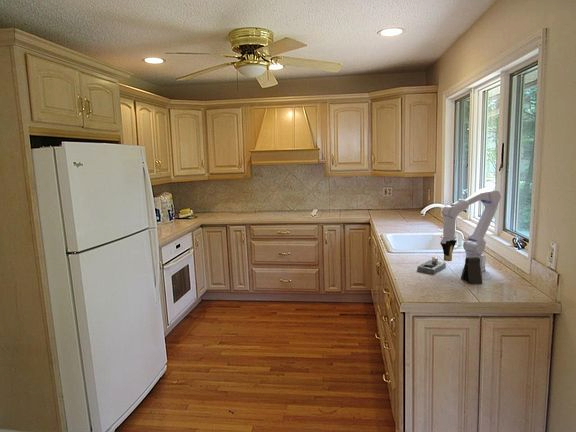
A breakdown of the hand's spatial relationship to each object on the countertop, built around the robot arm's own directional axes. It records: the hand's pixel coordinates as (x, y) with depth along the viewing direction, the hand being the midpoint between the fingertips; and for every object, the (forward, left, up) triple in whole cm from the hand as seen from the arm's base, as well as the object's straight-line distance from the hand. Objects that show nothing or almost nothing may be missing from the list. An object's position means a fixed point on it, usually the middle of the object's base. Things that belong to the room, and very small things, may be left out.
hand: (448, 254), depth 206 cm
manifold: (+9, -1, -10) cm, 13 cm away
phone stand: (-14, +6, -10) cm, 18 cm away
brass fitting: (0, 0, -3) cm, 3 cm away
